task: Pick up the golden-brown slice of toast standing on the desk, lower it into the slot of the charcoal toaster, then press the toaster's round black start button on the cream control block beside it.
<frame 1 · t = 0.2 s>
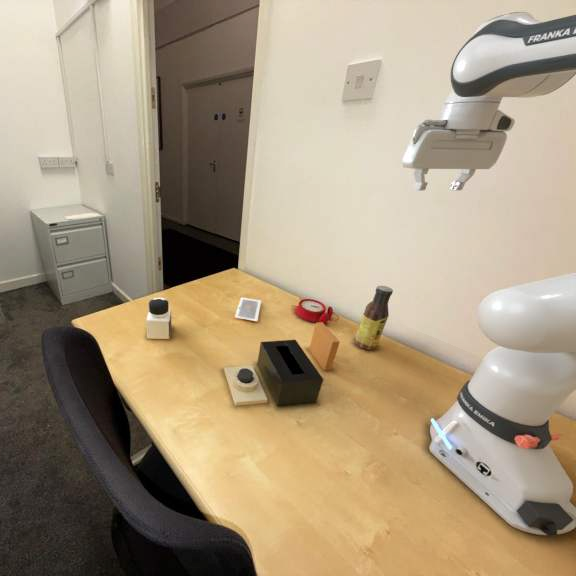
hand: (437, 190, 68), 48 cm above the table, tool pointing down, fingers open, 8 cm apart
control block: (244, 385, 77), on the table
toast: (319, 359, 87), on the table
start button: (245, 375, 76), point 3 cm above the table, slide at 0.1 cm
medicine bottle: (159, 333, 97), on the table
toaster: (284, 382, 79), on the table
touchpad: (248, 311, 110), on the table
sauce bottle: (364, 345, 94), on the table
alarm clock: (314, 316, 108), on the table
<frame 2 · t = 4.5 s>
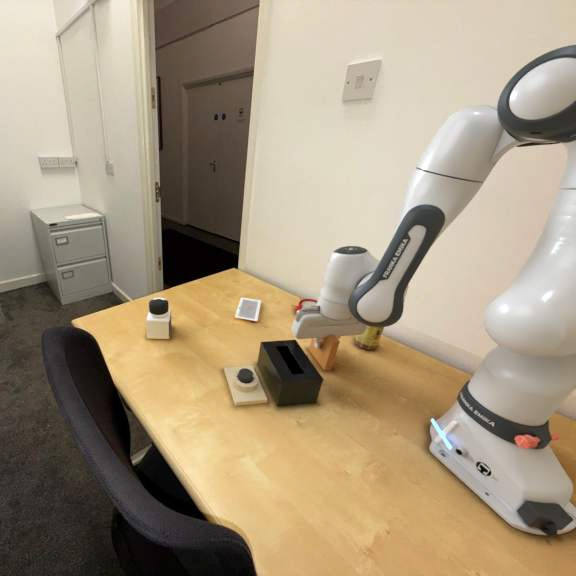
hand: (323, 347, 85), 5 cm above the table, tool pointing down, fingers closed on toast, 2 cm apart
toast: (319, 359, 87), on the table, touching gripper
everything else where it was.
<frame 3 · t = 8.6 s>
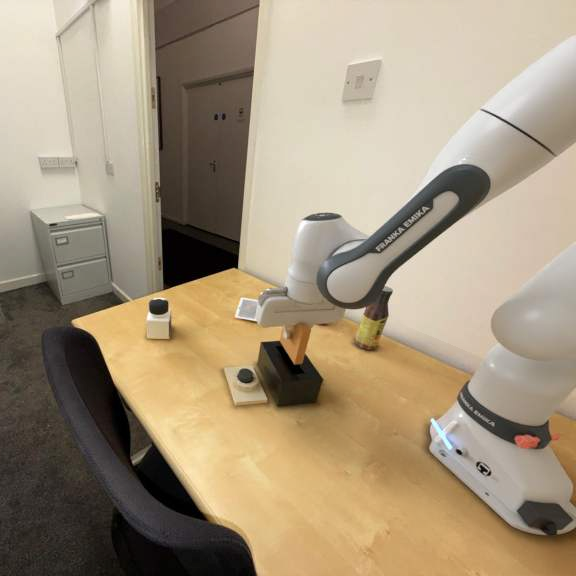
hand: (294, 337, 72), 15 cm above the table, tool pointing down, fingers closed on toast
toast: (290, 351, 74), point 10 cm above the table, touching gripper
everything else where it was.
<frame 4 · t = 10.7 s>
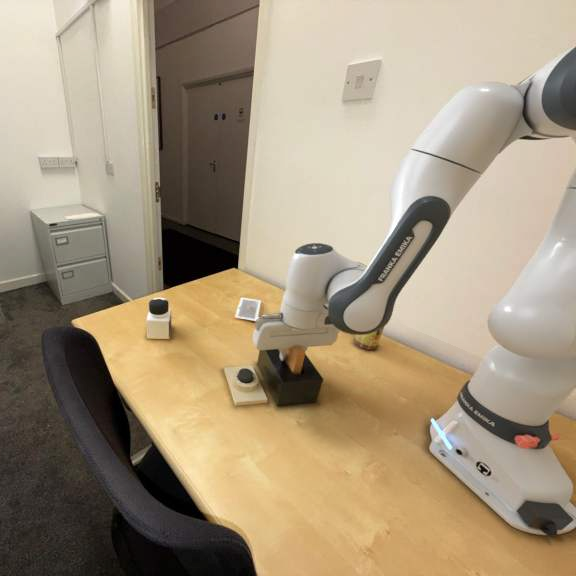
hand: (289, 358, 75), 8 cm above the table, tool pointing down, fingers closed on toast, 2 cm apart
toast: (286, 371, 77), point 3 cm above the table, touching gripper
everything else where it was.
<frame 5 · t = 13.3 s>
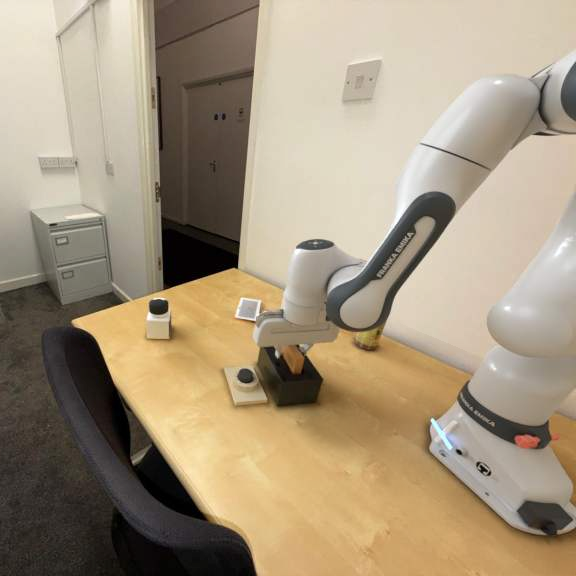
hand: (290, 355, 75), 9 cm above the table, tool pointing down, fingers open, 5 cm apart
toast: (285, 376, 78), point 2 cm above the table, touching toaster
everything else where it was.
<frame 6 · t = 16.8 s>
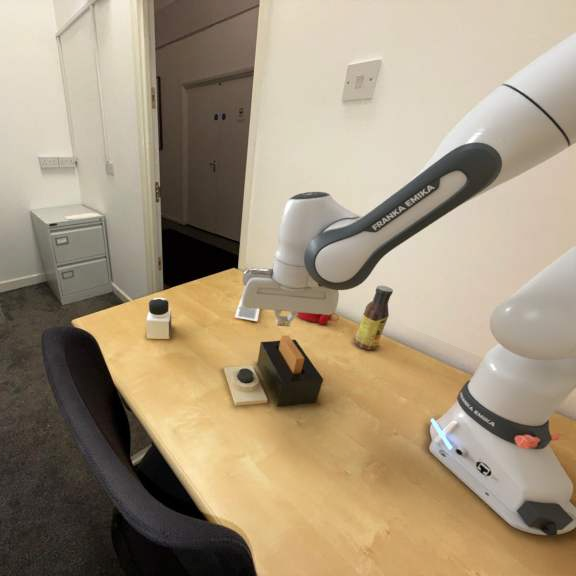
hand: (282, 324, 69), 19 cm above the table, tool pointing down, fingers closed
nothing on the table moved.
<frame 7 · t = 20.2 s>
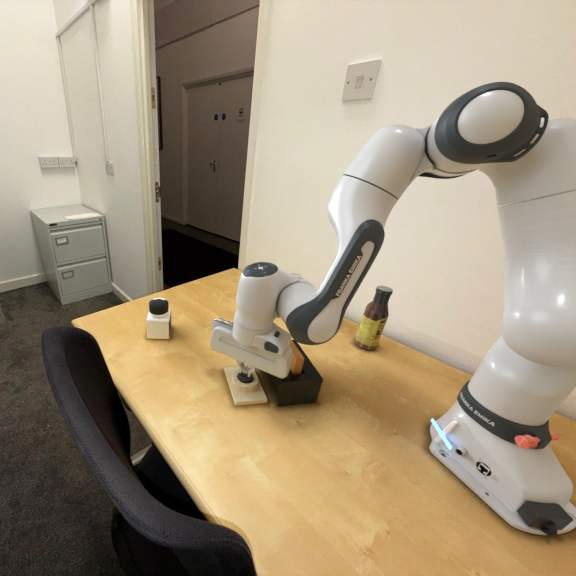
hand: (245, 373, 76), 4 cm above the table, tool pointing down, fingers closed, pressing on start button
start button: (245, 377, 76), point 3 cm above the table, slide at -0.4 cm, touching gripper
everything else where it was.
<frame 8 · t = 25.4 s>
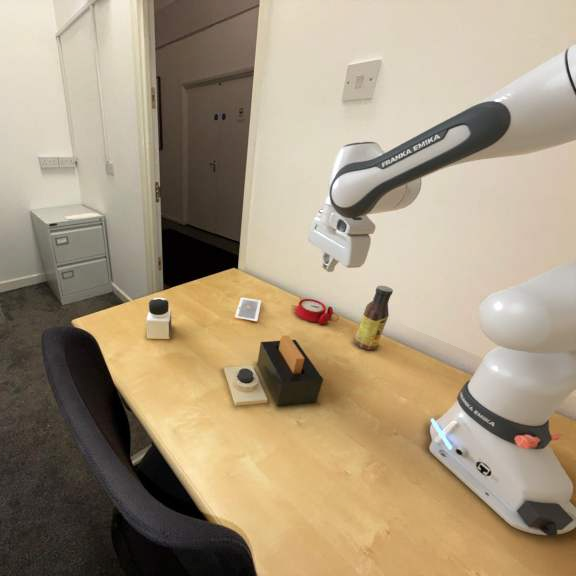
hand: (327, 269, 78), 27 cm above the table, tool pointing down, fingers closed
start button: (245, 375, 76), point 3 cm above the table, slide at 0.1 cm
everything else where it was.
at the end: toast 0.0 cm off-centre on the toaster, point 2.0 cm above the toaster's base; start button pushed in 1.1 cm at the most during the clip, back to where it started at the end; start button slide at 0.1 cm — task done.
